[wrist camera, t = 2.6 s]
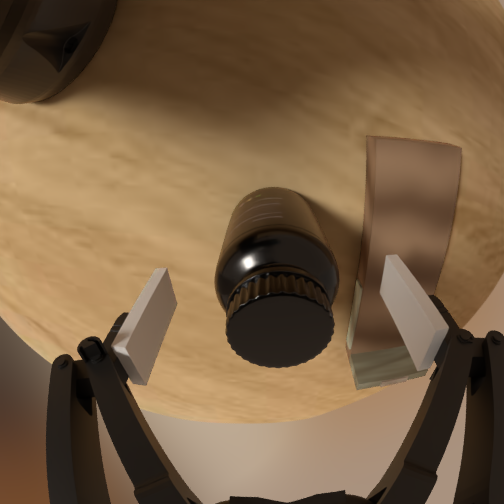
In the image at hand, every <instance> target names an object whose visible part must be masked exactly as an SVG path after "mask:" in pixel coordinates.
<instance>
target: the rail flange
mask: <svg viewBox="0 0 504 504" xmlns="http://www.w3.org/2000/svg"><path fill="white" fill-rule="evenodd" d="M461 152H462V148H461V147H458V146H455V145H452V144H448V143H442V142H434V141H426V140H417V139H407V138H395V137H381V136H367V160H366V191H365V209H364V222H363V234H362V244H361V253H360V262H359V270H358V278H357V279H356V286H355V292H354V299H353V305H352V311H351V317H350V323H349V328H348V333H347V338H346V341H347V342H346V350H347V354H348V358H349V362H350V366H351V370H352V374H353V378H354V382H355V386H356V390H359V389H365V388H371V387H376V386H380V387H382V386H387V385H392V384H396V383H401V382H405V381H407V380H409V379H414V378H417V377H422V376H425V375H426V373H427V371H428V369H425V370H421V371H417V369H416V367H415V365H414V362H413V360H412V358H411V356H410V353H409V351H408V349H407V347H406V345H405V343H404V340H403V338H402V336H401V334H400V332H399V330H398V328H397V326H396V324H395V322H394V320H393V318H392V316H391V314H390V312H389V310H388V308H387V306H386V304H385V302H384V300H383V298H382V296H381V295H380V288H381V283H382V277H383V271H384V265H385V259H386V255H396V254H397V255H398V256H399V258H400V259H401V260H402V261H403V263H404V264H405V265H406V267H407V268H408V269H409V271H410V272H411V273H412V275H413V276H414V277H415V279H416V280H417V281H418V283H419V284H420V285H421V287H422V288H423V290H424V291H425V292H426V294H427V295H434V293H435V290H436V286H437V283H438V280H439V276H440V273H441V269H442V266H443V262H444V258H445V254H446V250H447V246H448V241H449V237H450V232H451V227H452V222H453V217H454V211H455V205H456V199H457V192H458V184H459V175H460V165H461Z"/></svg>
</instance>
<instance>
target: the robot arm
mask: <svg viewBox="0 0 504 504" xmlns="http://www.w3.org/2000/svg"><path fill="white" fill-rule="evenodd" d="M116 3H117V0H0V100H2V101H5V102H8V103H12V104H24V103H30V102H37V101H42V100H45V99H47V98H49V97H51V96H53V95H55V94H56V93H58V92H59V91H61V90H62V89H64V88H65V87H66V86H67V85H68V84H69V83H71V82H72V81H73V80H74V79H75V78H76V77H77V76H78V74H79V73H80V72H81V71H82V70H83V69H84V67H85V66H86V65H87V64H88V62H89V61H90V60H91V58H92V57H93V55H94V54H95V52H96V51H97V49H98V47H99V46H100V44H101V42H102V41H103V39H104V37H105V35H106V33H107V31H108V28H109V26H110V24H111V21H112V18H113V15H114V12H115V8H116ZM380 295H381V296H382V298H383V300H384V302H385V304H386V306H387V308H388V310H389V312H390V314H391V316H392V318H393V320H394V322H395V324H396V326H397V328H398V330H399V332H400V334H401V336H402V338H403V340H404V343H405V345H406V347H407V349H408V351H409V353H410V356H411V358H412V360H413V362H414V365H415V367H416V369H417V371H421V370H425V369H428V368H430V367H431V365H432V363H433V361H435V363H436V365H437V367H436V369H435V370H434V372H433V374H432V376H431V377H430V380H431V381H430V384H429V386H428V389H427V391H426V394H425V396H424V399H423V402H422V404H421V406H420V408H419V410H418V413H417V415H416V417H415V419H414V421H413V423H412V425H411V428H410V430H409V432H408V434H407V436H406V437H405V439H404V441H403V443H402V445H401V447H400V449H399V451H398V452H397V454H396V456H395V458H394V459H393V461H392V463H391V464H390V466H389V468H388V469H387V471H386V473H385V474H384V476H383V477H382V479H381V480H380V482H379V483H378V484H377V485H376V487H375V488H374V489H373V490H372V491H371V493H370V494H369V495H368V497H367V498H366V499H365V498H363V497H359V496H356V495H349V494H348V495H347V494H345V490H343V491H337V492H330V493H322V494H316V495H313V496H310V497H307V498H304V499H301V500H297V501H294V502H289V503H285V502H279V501H274V500H269V499H264V498H259V497H235V496H230V500H228V501H223V502H219V503H216V504H425V502H426V501H427V499H428V497H429V495H430V493H431V491H432V489H433V487H434V485H435V483H436V481H437V475H436V471H437V468H438V466H439V464H440V462H441V459H442V457H443V455H444V452H445V450H446V447H447V445H448V442H449V440H450V437H451V434H452V431H453V428H454V426H455V423H456V419H457V416H458V413H459V410H460V407H461V403H462V400H463V396H464V392H465V388H466V385H467V402H466V403H467V404H466V424H465V435H464V445H463V453H462V460H461V466H460V472H459V478H458V483H457V488H456V492H455V497H454V502H453V504H504V336H503V334H501V333H500V332H498V331H490V332H488V334H487V335H486V337H485V338H474V336H473V335H472V334H471V333H470V332H469V331H467V330H465V329H460V328H459V327H458V325H457V324H456V322H455V321H454V319H453V318H452V316H451V315H450V313H449V312H448V310H447V309H446V308H445V307H444V305H443V303H442V302H441V301H440V299H438V298H437V297H435V296H434V295H427V294H426V292H425V291H424V290H423V288H422V287H421V285H420V284H419V283H418V281H417V280H416V279H415V277H414V276H413V275H412V273H411V272H410V271H409V269H408V268H407V267H406V265H405V264H404V263H403V261H402V260H401V259H400V258H399V256H398V255H397V254H396V255H386V259H385V265H384V271H383V277H382V283H381V288H380ZM176 306H177V301H176V298H175V294H174V291H173V287H172V284H171V280H170V277H169V273H168V269H167V268H156V269H155V270H154V272H153V274H152V275H151V277H150V279H149V280H148V282H147V283H146V285H145V287H144V288H143V290H142V292H141V294H140V295H139V297H138V299H137V300H136V302H135V304H134V305H133V307H132V309H131V311H130V312H129V313H125V312H124V313H123V314H122V315H120V316H119V317H118V318H117V320H116V321H115V323H114V325H113V326H112V328H111V330H110V332H109V333H108V335H107V337H106V339H105V340H104V342H103V343H102V342H101V340H100V339H99V338H98V337H96V336H91V337H88V338H86V339H84V340H82V341H81V342H80V344H79V345H78V347H77V351H78V353H79V355H80V356H81V358H82V359H83V360H77V361H74V360H73V358H72V357H71V356H70V355H68V354H63V355H60V356H59V357H57V358H56V359H55V360H54V362H53V364H52V369H51V376H50V384H49V395H48V406H47V423H46V425H47V427H46V462H47V479H48V489H49V498H50V504H111V502H110V498H109V494H108V489H107V484H106V479H105V474H104V468H103V462H102V456H101V448H100V441H99V432H98V421H97V408H96V401H97V404H98V406H99V409H100V412H101V415H102V417H103V420H104V423H105V425H106V428H107V430H108V433H109V435H110V437H111V439H112V442H113V444H114V446H115V449H116V451H117V453H118V455H119V457H120V459H121V462H122V464H123V466H124V467H125V470H126V472H127V474H128V476H129V477H130V479H131V481H132V483H133V485H134V487H135V490H134V495H135V497H136V499H137V501H138V503H139V504H202V502H201V501H200V500H199V499H198V498H197V496H196V495H195V494H194V493H193V492H192V491H191V490H190V489H189V487H188V486H187V485H186V483H185V482H184V480H183V479H182V478H181V476H180V475H179V473H178V472H177V470H176V469H175V467H174V466H173V464H172V463H171V462H170V460H169V459H168V457H167V455H166V454H165V452H164V450H163V449H162V447H161V446H160V444H159V442H158V441H157V439H156V437H155V436H154V434H153V432H152V431H151V429H150V427H149V425H148V423H147V422H146V420H145V418H144V416H143V414H142V412H141V410H140V408H139V407H138V405H137V403H136V401H135V399H134V397H133V395H132V393H131V391H130V388H129V386H128V385H127V383H126V382H127V380H128V377H129V378H130V380H131V381H132V383H133V384H138V385H147V382H148V379H149V377H150V374H151V371H152V368H153V366H154V363H155V360H156V358H157V355H158V352H159V350H160V347H161V344H162V342H163V339H164V336H165V334H166V331H167V329H168V326H169V324H170V321H171V319H172V316H173V314H174V311H175V309H176Z"/></svg>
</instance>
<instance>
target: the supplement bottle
mask: <svg viewBox="0 0 504 504" xmlns="http://www.w3.org/2000/svg"><path fill="white" fill-rule="evenodd" d="M338 287H339V271H338V267H337V263H336V260H335V258H334V255H333V253H332V251H331V248H330V246H329V244H328V242H327V239H326V237H325V235H324V233H323V231H322V229H321V227H320V224H319V222H318V220H317V218H316V216H315V214H314V212H313V210H312V209H311V207H310V206H309V204H308V203H307V202H306V201H305V200H304V199H303V198H302V197H301V196H299V195H298V194H296V193H295V192H293V191H290V190H288V189H284V188H278V187H268V188H263V189H259V190H256V191H254V192H252V193H250V194H248V195H247V196H246V197H244V198H243V199H242V200H241V201H240V202H239V203H238V205H237V206H236V208H235V210H234V211H233V213H232V216H231V219H230V222H229V225H228V228H227V232H226V235H225V239H224V242H223V246H222V249H221V253H220V256H219V260H218V263H217V267H216V272H215V291H216V295H217V298H218V300H219V303H220V305H221V306H222V308H223V310H224V311H225V312H226V317H227V319H226V336H227V341H228V343H229V344H230V345H231V348H232V349H233V350H234V351H236V354H237V355H239V356H241V357H242V358H243V359H244V360H247V361H249V362H250V363H253V364H257V365H259V366H265V367H268V368H272V367H275V368H282V367H290V366H297V365H299V364H301V363H306V362H307V361H308V360H310V359H313V358H315V356H316V355H318V354H320V353H321V352H322V350H323V349H325V348H326V347H327V344H328V343H329V342H330V341H331V336H332V335H333V333H334V330H333V328H334V325H335V323H334V319H333V313H332V309H331V306H332V304H333V302H334V300H335V298H336V295H337V292H338Z"/></svg>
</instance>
